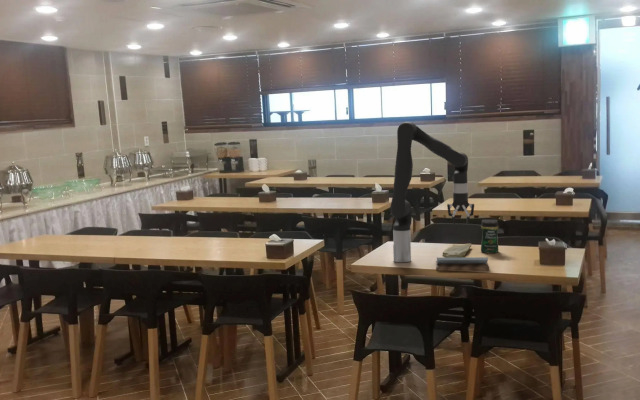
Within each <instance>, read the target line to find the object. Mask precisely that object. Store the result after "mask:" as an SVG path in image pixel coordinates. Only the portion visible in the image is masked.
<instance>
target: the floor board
mask: <svg viewBox="0 0 640 400" xmlns="http://www.w3.org/2000/svg"><path fill="white" fill-rule="evenodd" d="M435 270H436V271H453V272H455V271H456V272H457V271H458V272H459V271H460V272H461V271H463V272H465V271H468V272H469V271H479V272H482V271H485V272H486V271H488V272H489V271H490V266H489V263H488V262H487V264H437V260H435Z"/></svg>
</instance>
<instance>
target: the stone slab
mask: <svg viewBox="0 0 640 400" xmlns="http://www.w3.org/2000/svg"><path fill="white" fill-rule="evenodd" d="M471 247H472V243H463V244H462V243H461V244H460V243H459V244H458V243H455V244H452V246H449V247H447V248H445V249H444V250H443V251H442V257H443V258H465V256H466V254H467V253H468V252H469V251H470V249H471Z"/></svg>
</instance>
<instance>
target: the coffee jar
mask: <svg viewBox="0 0 640 400" xmlns="http://www.w3.org/2000/svg"><path fill="white" fill-rule="evenodd" d="M499 227H500V226H499V221H498V220H497V219H482V220H481V224H480V228H481V243H480V252H482V253H485V254H495V253H498V252H499V243H498V242H499V237H498V231H499Z"/></svg>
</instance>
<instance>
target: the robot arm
mask: <svg viewBox="0 0 640 400" xmlns="http://www.w3.org/2000/svg"><path fill="white" fill-rule="evenodd" d="M396 132H397V134H396V135H397V137H396V139H397V151H396V157H395V167H394V178H393V192H392V197H391V203H390V213H391V216H392V217H393V218H395V220H394V221H395V222H394V223H393V225H392V233H393V234H392V235H393V236H392V237H393V244H392V245H393V246H392V247H393V249H392V250H393V253H392V254H393V263H395V262H396V263H410V262H412V248H411V247H412V246H411V245H412V244H411V243H412V242H411V225H412V221H413V220H412V218H413V215H412V213H413V212H412V205H411V203H410V202H409V201H408V200H407V198H406V197H407V191H408V189H409V186H410V184H411V180H412V177H413V167H414V163H413V157H412V142H413V141H415V142H416V143H418V144H421V145H422V146H424V147H425V148H426V149H427V150H428V151H430V152H431V153H433V154H434V155H437V156H438V157H440V158H441V159H444V160H445V161H447V162H448V163H450V164H451V165H453V166H454V171H453V172H454V173H453V176H452V178H453V179H452V180H453V185H452V203H447V205H446V209H447V213H448V216H449V217H451V222H452V223H453V225H455V224H456V217H455V216H456V214H457V212H465V214H466V224H467V225H469V223H470V221H471V220H470V217H472V216H474V211H475V210H474V209H475V204H474V203H469V187H468V186H469V185H468V168H469V159H468V156H467V154H466V153H464V152H458V151H456V150H455V149H453V148H452V147H451V146H450V145H448V144H446V143H444V142H443V141H441V140H439V139H437V138H435V137H434V136H431V135H429V134H428V133H426V132H425V131H424V130H422V129H421V128H420V127H419V126H418V125H417V124H415V123H414V122H411V121H404V122H402V123H401V124H400V125H398V127H397V131H396ZM452 207H453V208H454V209H453V212H451V208H452ZM468 207H469V208H470V213H469V211H468Z"/></svg>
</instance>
